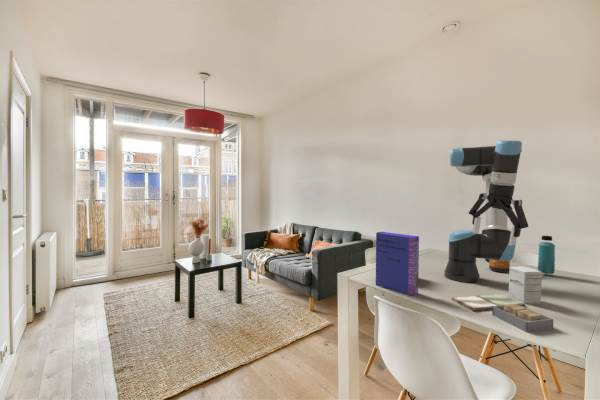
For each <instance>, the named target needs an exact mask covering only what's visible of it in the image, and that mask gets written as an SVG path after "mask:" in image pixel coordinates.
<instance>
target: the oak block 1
mask: <svg viewBox="0 0 600 400" xmlns="http://www.w3.org/2000/svg"><path fill="white" fill-rule="evenodd" d="M525 308H526V307H525ZM525 308H523V307H521V306H518V305H516V304H504V311H505V312H507V313H509V314H512V315H514V316H516V317H518V311H519V310H525Z"/></svg>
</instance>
